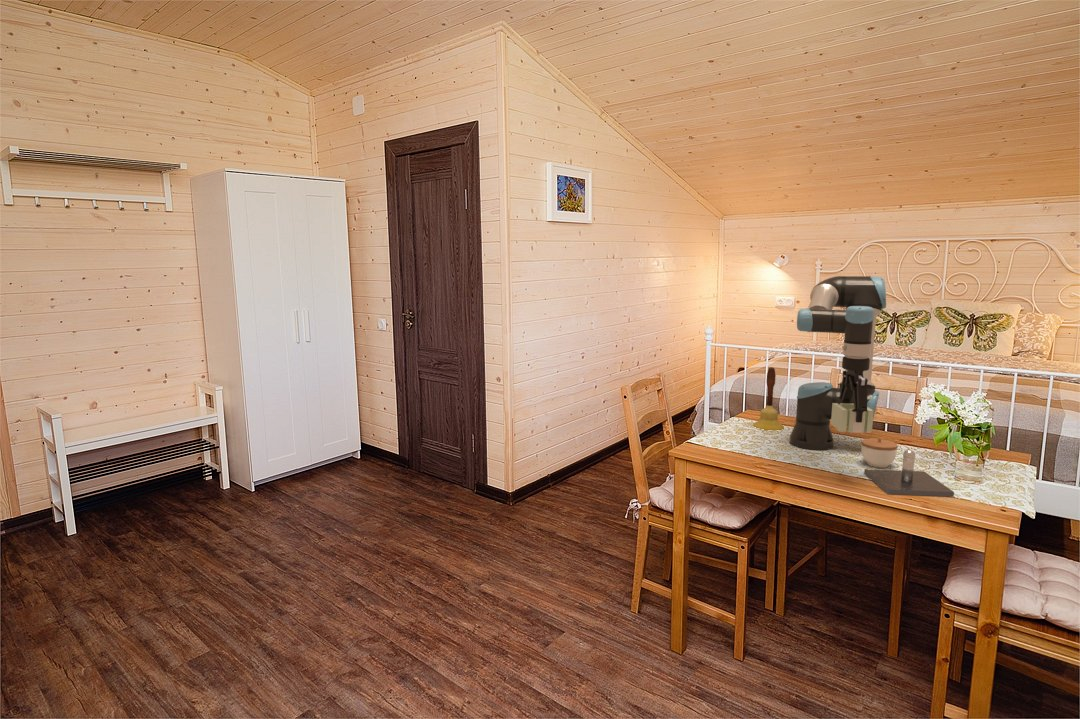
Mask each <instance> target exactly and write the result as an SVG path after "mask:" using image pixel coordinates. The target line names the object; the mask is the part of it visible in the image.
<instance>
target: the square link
mask: <svg viewBox="0 0 1080 719" xmlns="http://www.w3.org/2000/svg"><path fill="white" fill-rule="evenodd" d="M853 409H855V408H854V403H840V405H839V404H838V403H832V416H831V419H830V426H832V427H834V428H835V429H836V430H837V431H839V432H840V433H846V432H847V433H852V434H853V433H854V434H855V433H856V434H857V433H858V434H861V433H862V434H864V433H867V434H872V432H873V424H874V422H873V421H874V419H873V412H874V411H873V410H872V409H870V408H868V407H867V411H864V412H863V424H862V432H852V420H853V411H852V410H853Z"/></svg>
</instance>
